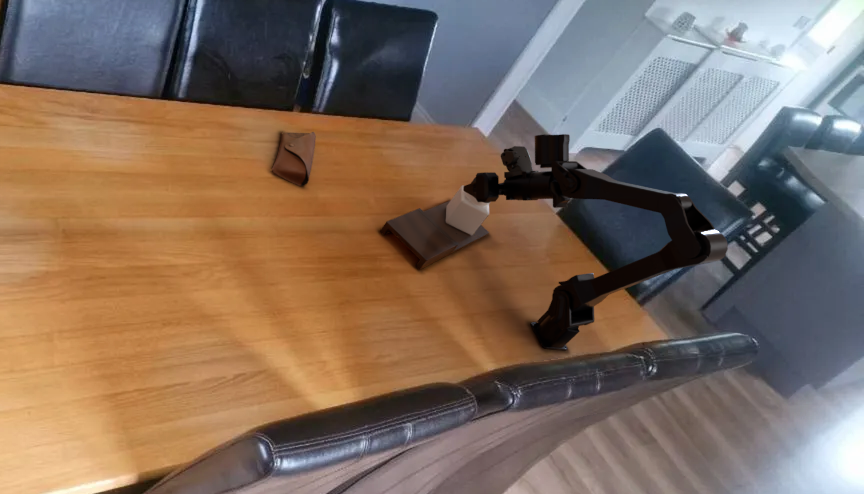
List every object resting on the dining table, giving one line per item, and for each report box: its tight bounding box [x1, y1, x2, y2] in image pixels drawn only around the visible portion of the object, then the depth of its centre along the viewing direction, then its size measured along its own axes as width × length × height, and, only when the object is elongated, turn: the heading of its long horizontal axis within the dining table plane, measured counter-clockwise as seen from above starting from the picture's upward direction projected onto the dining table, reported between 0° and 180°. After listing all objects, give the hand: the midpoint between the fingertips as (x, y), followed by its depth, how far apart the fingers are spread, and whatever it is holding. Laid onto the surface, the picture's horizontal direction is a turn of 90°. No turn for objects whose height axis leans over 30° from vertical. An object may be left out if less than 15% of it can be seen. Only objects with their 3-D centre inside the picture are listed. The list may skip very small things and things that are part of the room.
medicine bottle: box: [446, 176, 491, 235], centre depth 161 cm, size 7×7×12 cm
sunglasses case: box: [271, 131, 317, 187], centre depth 157 cm, size 18×7×7 cm, turn 175°
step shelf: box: [379, 199, 490, 270], centre depth 158 cm, size 30×12×3 cm, turn 135°
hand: (477, 188), depth 160 cm, fingers open, 9 cm apart
